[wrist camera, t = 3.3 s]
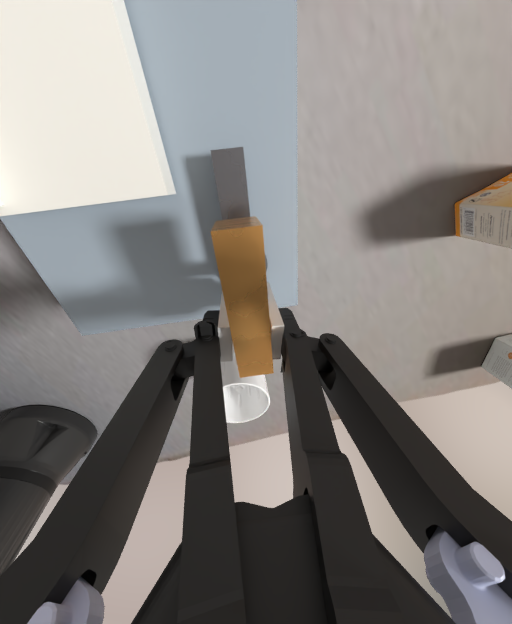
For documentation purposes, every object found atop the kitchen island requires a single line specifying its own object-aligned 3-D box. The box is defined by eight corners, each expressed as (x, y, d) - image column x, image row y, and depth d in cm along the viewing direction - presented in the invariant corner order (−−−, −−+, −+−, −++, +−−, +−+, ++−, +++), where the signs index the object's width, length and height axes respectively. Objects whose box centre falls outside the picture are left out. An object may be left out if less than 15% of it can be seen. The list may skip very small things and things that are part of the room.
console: (119, 298, 28) (79, 338, 20) (-10, 50, 16) (-205, -61, 9) (282, 276, 28) (298, 306, 21) (270, 19, 17) (298, -109, 9)
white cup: (203, 350, 33) (192, 406, 25) (238, 322, 31) (240, 373, 23) (236, 374, 37) (237, 430, 28) (270, 350, 35) (282, 403, 26)
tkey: (237, 313, 20) (239, 377, 13) (210, 153, 14) (187, 119, 7) (259, 310, 20) (273, 373, 13) (243, 149, 14) (254, 112, 7)
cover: (7, 215, 15) (-66, 224, 11) (-155, -24, 9) (-394, -154, 6) (176, 193, 15) (158, 196, 11) (110, -50, 10) (38, -189, 6)
